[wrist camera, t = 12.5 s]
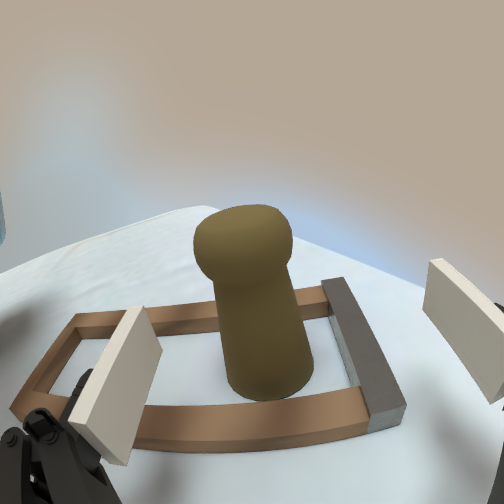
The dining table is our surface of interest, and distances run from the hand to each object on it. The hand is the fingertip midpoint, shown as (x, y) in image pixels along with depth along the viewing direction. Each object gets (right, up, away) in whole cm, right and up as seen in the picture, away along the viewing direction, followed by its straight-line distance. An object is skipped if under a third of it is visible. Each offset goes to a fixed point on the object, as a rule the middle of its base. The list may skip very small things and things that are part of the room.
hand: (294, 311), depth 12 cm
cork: (-1, -6, +7) cm, 9 cm away
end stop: (+5, -4, +7) cm, 10 cm away
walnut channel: (-8, -6, +8) cm, 13 cm away
